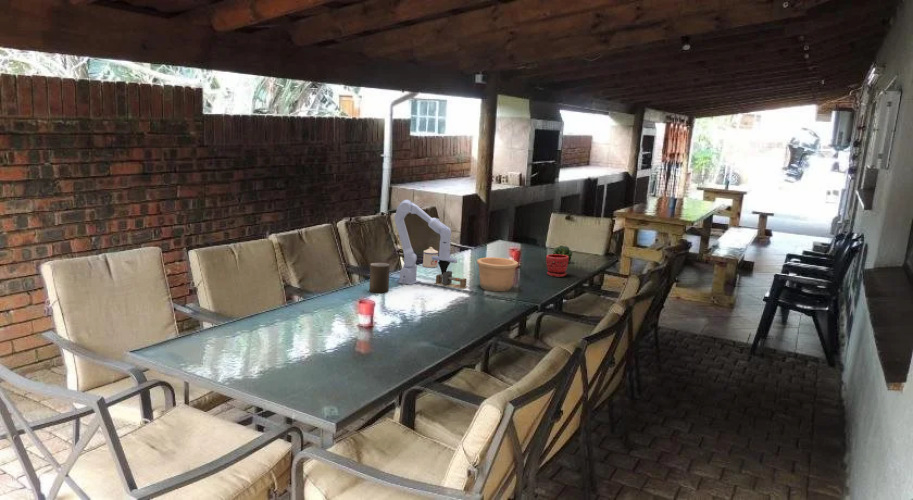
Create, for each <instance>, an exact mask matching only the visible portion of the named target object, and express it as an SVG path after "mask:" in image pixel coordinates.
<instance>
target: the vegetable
mask: <svg viewBox="0 0 913 500" xmlns="http://www.w3.org/2000/svg"><path fill="white" fill-rule="evenodd" d="M552 254H559V255H566V256H568V257H569V260H568V263H569V262H571V260H572V256H573V250H570V248H569V246H564V245H559V246H558V247H555V248H554V250H553V252H552ZM564 265H565V264H564Z"/></svg>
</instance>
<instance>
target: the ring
mask: <svg viewBox="0 0 913 500" xmlns="http://www.w3.org/2000/svg"><path fill="white" fill-rule="evenodd" d="M442 276H443V278H442V284H444V285H447V284H450V283H452V281H453V280H448V277H453V271H451V270H447V271H446V272H444V273H443V275H442ZM452 284H453V283H452Z"/></svg>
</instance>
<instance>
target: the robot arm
mask: <svg viewBox="0 0 913 500" xmlns="http://www.w3.org/2000/svg"><path fill="white" fill-rule="evenodd" d="M409 213H410V214H411V215H413V214H415V215H417V216H418V217H420V218H421V219H422V220H424V221H425V222H426V223H427V225H428V227H429V228H430V229H432V230H433V231H434V232H435V233H436V234H439V236H440V240H439V251H438V256H432V260H438V263H437V265H438V266H439V270H440V274H442V276H443V273H444V272H447V271H448V268H449V266H450V264H451V263H452V264H457V263H458V259H457V258H454V257H451V244H452V243H451V240H452V239H451V237H452V230H451V228H450V227H449V226H447V225H446V224H444V223H443V222H441V221H440V219H439V218H438V217H431V216H430V215H429V214H428V213H427V212H425V211H424V210H423V209H422V208H420V206H419V205H417V204H416V203H414V202H412V201H411V200H410V199H404V200H402V202H400V203H399V205H398V206H397V208H396V211H395V214H394V217H393V219H394V222H395V226H396V229H397V233H398V236H399V239H400V244H401V246H402V247H401V248H402V251H403V256H404V257H403V267H402V268H401V269H400V271H399V280H398V282H397V283H399V284H403V285H404V284H405V285H410V286H411V285H413V284H417V283H420V280H418V279H417V271H418V265H417V264H416V262H417V260H418V256H417V254H416V253H415V252H414V249H413V247H412V243H411V240H410V236H409V233H408V229H407V226H406V222H405V218H406V217H407V215H408V214H409Z"/></svg>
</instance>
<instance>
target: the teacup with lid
mask: <svg viewBox="0 0 913 500" xmlns="http://www.w3.org/2000/svg"><path fill="white" fill-rule="evenodd" d="M432 256H439V251H438V250H436V249H434V248H433V247H432V246H429V247H428V248H427V249H425V250H423V257H422V258H423V259H422V260H423V261H422V265H423V267H424V268H431V269H432V268H437V267H438V262H439V261H438V260H432Z"/></svg>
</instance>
